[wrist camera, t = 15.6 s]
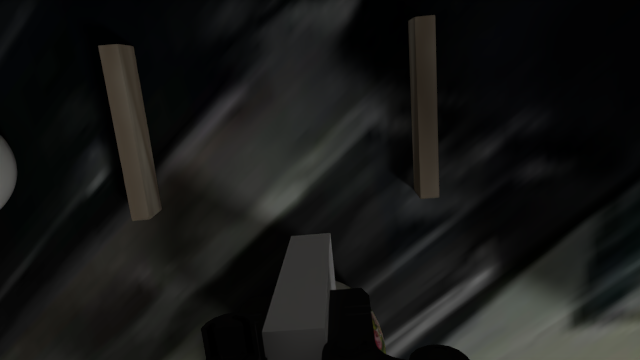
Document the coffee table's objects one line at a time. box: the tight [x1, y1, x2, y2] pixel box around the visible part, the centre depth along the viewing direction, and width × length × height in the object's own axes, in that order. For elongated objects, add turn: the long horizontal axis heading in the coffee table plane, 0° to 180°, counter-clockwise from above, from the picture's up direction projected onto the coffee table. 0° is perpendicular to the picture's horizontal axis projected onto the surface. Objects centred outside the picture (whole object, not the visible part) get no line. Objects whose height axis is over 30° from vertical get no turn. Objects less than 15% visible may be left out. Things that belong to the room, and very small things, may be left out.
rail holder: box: [98, 15, 439, 221], centre depth 39 cm, size 27×15×3 cm, turn 95°
